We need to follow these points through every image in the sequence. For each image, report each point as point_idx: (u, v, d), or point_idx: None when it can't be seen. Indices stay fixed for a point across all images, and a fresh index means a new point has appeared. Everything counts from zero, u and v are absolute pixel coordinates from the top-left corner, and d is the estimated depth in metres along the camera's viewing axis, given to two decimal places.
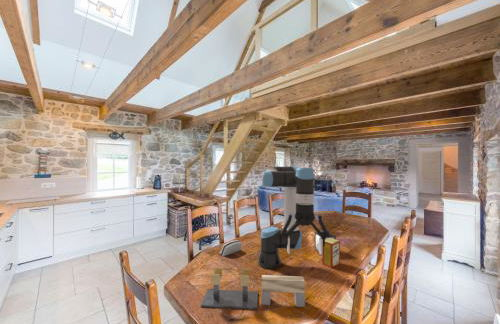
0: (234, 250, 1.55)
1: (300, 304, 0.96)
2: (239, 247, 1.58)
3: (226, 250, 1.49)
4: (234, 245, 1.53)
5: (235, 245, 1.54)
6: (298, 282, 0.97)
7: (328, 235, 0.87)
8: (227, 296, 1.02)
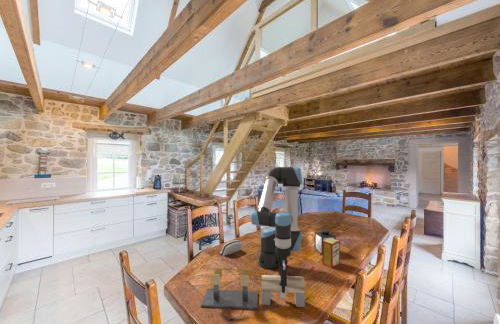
0: (234, 250, 1.55)
1: (300, 304, 0.96)
2: (239, 247, 1.58)
3: (226, 250, 1.49)
4: (234, 245, 1.53)
5: (235, 245, 1.54)
6: (298, 282, 0.97)
7: (281, 284, 0.94)
8: (227, 296, 1.02)
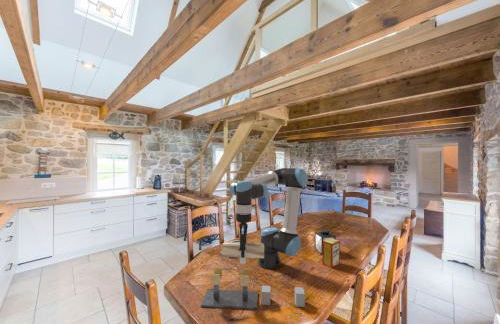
0: None
1: (300, 304, 0.96)
2: None
3: None
4: None
5: None
6: (258, 247, 0.98)
7: None
8: (227, 296, 1.02)
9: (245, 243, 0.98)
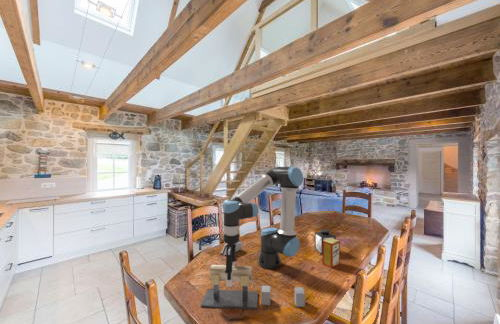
0: None
1: (300, 304, 0.96)
2: (240, 247, 1.58)
3: None
4: None
5: (236, 245, 1.55)
6: (245, 271, 0.99)
7: (225, 271, 0.93)
8: (227, 296, 1.02)
9: None
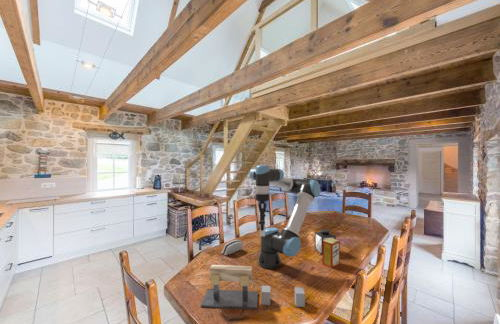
0: (235, 249, 1.56)
1: (300, 304, 0.96)
2: (240, 246, 1.59)
3: (228, 250, 1.50)
4: (236, 244, 1.54)
5: (237, 244, 1.55)
6: (245, 271, 0.99)
7: None
8: (227, 296, 1.02)
9: None
